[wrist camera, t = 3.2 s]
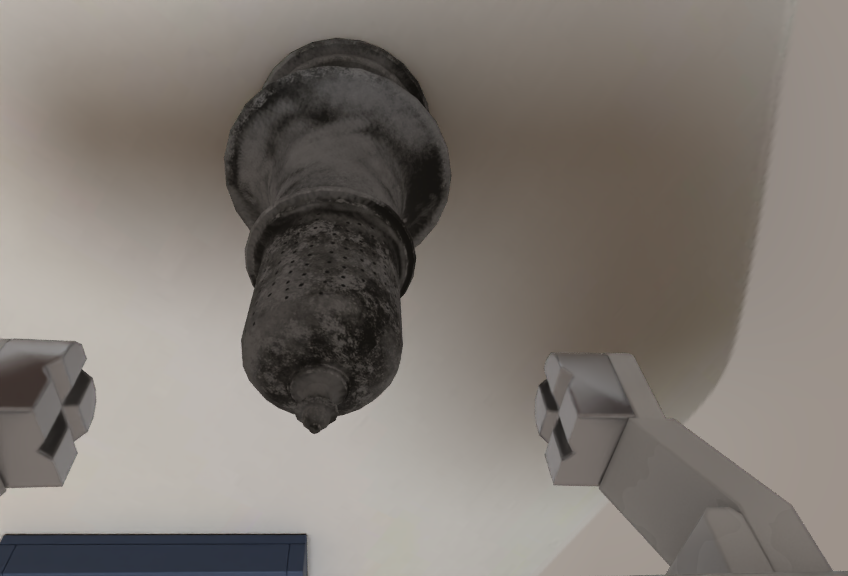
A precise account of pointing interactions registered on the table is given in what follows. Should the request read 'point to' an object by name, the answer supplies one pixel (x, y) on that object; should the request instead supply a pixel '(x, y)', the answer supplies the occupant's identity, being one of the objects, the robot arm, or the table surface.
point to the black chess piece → (332, 222)
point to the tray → (153, 555)
